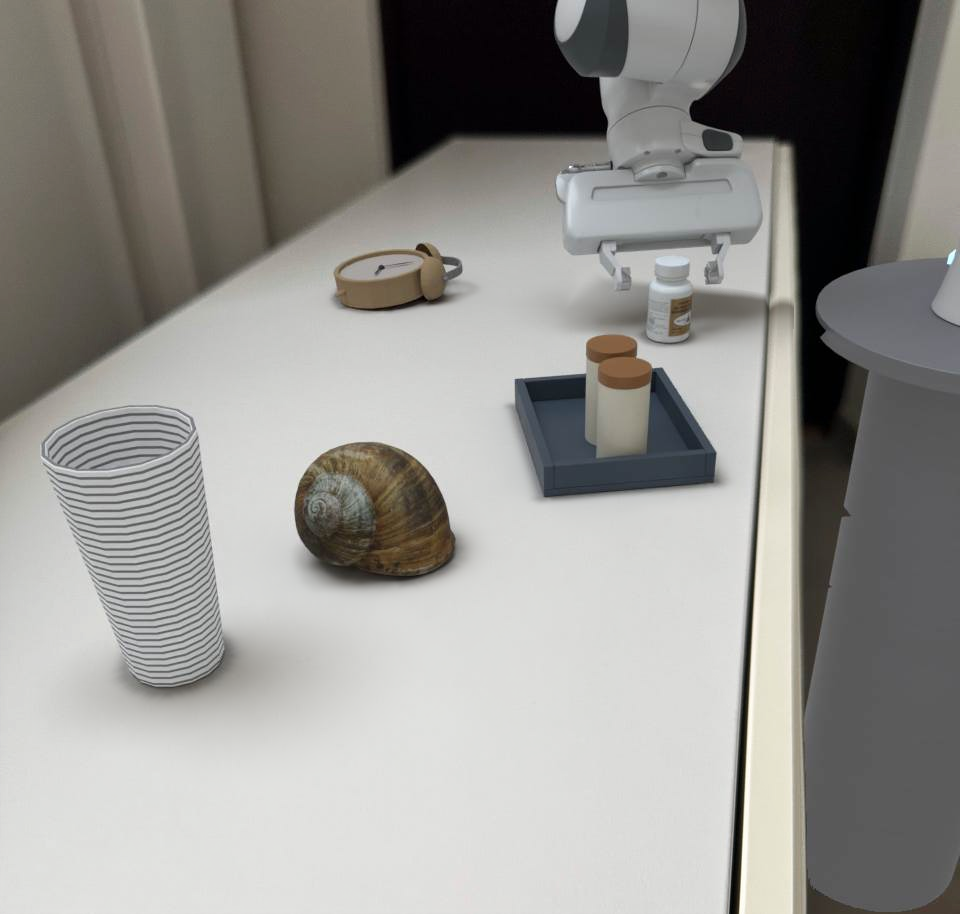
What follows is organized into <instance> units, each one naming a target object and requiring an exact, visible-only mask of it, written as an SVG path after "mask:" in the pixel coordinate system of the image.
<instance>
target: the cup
mask: <svg viewBox="0 0 960 914" xmlns="http://www.w3.org/2000/svg"><path fill="white" fill-rule="evenodd" d="M195 420H196V419H195V418H194V417H192V416H191V415H189V414H188V413H186V412H184V411H182V410H181V409H179V408H174V407H169V406H163V405H160V404H159V405H158V404H135V405H133V404H132V405H130V404H128V405H124V406H117V407H111V408H105V409H99V410H97V411H93V412H90V413H87V414H84V415H80V416H77V417H75V418H72V419H70V420H69V421H67V422H65V423H63V424H61V425H60V426H58V427H56V428H54V429H52V430H51V432H50V433H48V435H47V436H46V437H45V439H43V441H42V442H41V443H40V447H39V448H40V459H41V463H42V464H43V467H44V469H45V471H46V474H47V476H48V479H49V480H50V481H49V482H50V483H51V485H52V488H53V490H54V493H55V495H56V497H57V500H58V502H59V506H60V507H61V510H62V512H63V514H64V517H65V519H66V521H67V524H68V527H69V529H70V531H71V534H72V536H73V538H74V541H75V544H76V546H77V548H78V551H79V553H80V555H81V557H82V560H83V562H84V565H85V567H86V570H87V572H88V574H89V577H90V579H91V582H92V584H93V586H94V588H95V591H96V594H97V596H98V598H99V601H100V603H101V606H102V608H103V611H104V613H105V615H106V618H107V620H108V622H109V625H110V628H111V630H112V632H113V634H114V637H115V639H116V643H117V644H118V647H119V648H120V651H121V654H122V656H123V658H124V661H125V663H126V666H127V668H128V670H129V673H131V675H133V676H134V678H135V679H137V680H138V681H139V682H140V683H142V684H145V685H149V686H152V687H154V688H155V687H156V688H157V687H158V688H159V687H160V688H161V687H164V688H165V687H168V688H169V687H172V688H173V687H177V686H182V685H186V684H190V683H194V682H196V681H197V680H199V679H201V678H204V677H206V676H208V675H209V674H210V673H211V672H212V671H214V670H215V669H216V668H217V667H218V666H219V665H220V663H221V661H222V659H223V657H224V654H225V651H226V649H225V642H224V634H223V633H224V632H223V625H222V624H223V623H222V618H221V609H220V601H219V592H218V585H217V575H216V569H215V568H216V567H215V559H214V553H213V544H212V536H211V528H210V519H209V512H208V511H209V510H208V504H207V495H206V486H205V478H204V471H203V463H202V455H201V446H200V439H199V431H198V427H197V424H196V421H195Z"/></svg>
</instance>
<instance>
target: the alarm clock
mask: <svg viewBox="0 0 960 914" xmlns="http://www.w3.org/2000/svg"><path fill="white" fill-rule="evenodd" d="M445 266H453V267H455V268H453V269H450V270H449V271H447V270H446V268H445ZM463 271H464V269H463V262H462V260H461V259H460V258H458V257H455V256H447V255H446V256H445V255H442V254H441V253H440V251H439V249H438V248H437V247H436V246H435V245H433V244H431V243H429V242H420V243H417V245H416V246H415V249H409V248H398V249H397V248H394V249H393V248H392V249H384V250H376V251H373V252H367V253H363V254H361V255H356V256H353V257H352V258H349V259H346V260H344V261H343V262H341V263H340V264H338V265H337V266H335V268H334V270H333V272H332V273H333V276H334V281H335V285H336V286H335V287H336V290H337V291H336V293H334V297H335V298H336V299H337V298H338V300H339V302H340V304H342V305H345V306H347V307H350V308H356V309H380V308H389V307H394V306H398V305H402V304H406V303H408V302H412V301H414V300H418V299H419V298H421V297H423V296H424V298H425V299H426V300H428V301H434V300H436V299H438V298H440V297H441V296H442V295H443V293H444V292H445V290H446V286H447V282H448V281H451V280H453V279H455V278H458V277H459V276H460V275H462V273H463Z"/></svg>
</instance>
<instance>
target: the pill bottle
mask: <svg viewBox="0 0 960 914" xmlns="http://www.w3.org/2000/svg"><path fill="white" fill-rule="evenodd" d="M690 269H691V260H690V259H689V258H688V257H686V256H681V255H664V256H660V257H657V258H656V259H655V261H654V270H653V271H654V277H656V278H655V279H654V280H652V281H651V282H650V283H649V285H648V299H647V300H648V302H647V315H646V316H647V317H646V336H647V337H648V338H649V340H651V341H653V342H657V343H664V344H665V343H666V344H667V343H668V344H673V343H680V342H682V341H684V340H687V338H688V337H689V336H690V331H691V330H690V329H691V317H692V306H693V292H694V286H693V283H692V282H691V280H689V279H688V277H690V271H691V270H690Z"/></svg>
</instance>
